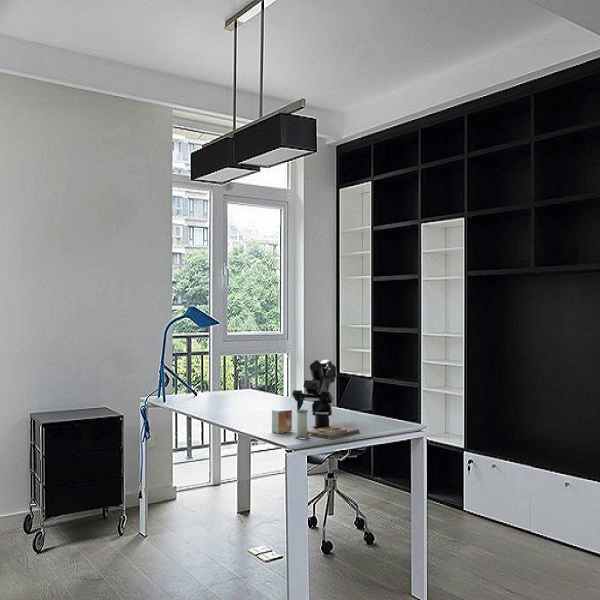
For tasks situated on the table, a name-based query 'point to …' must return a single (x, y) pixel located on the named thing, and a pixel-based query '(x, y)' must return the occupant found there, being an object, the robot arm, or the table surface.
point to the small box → (281, 420)
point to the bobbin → (302, 424)
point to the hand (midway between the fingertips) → (307, 411)
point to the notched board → (333, 431)
